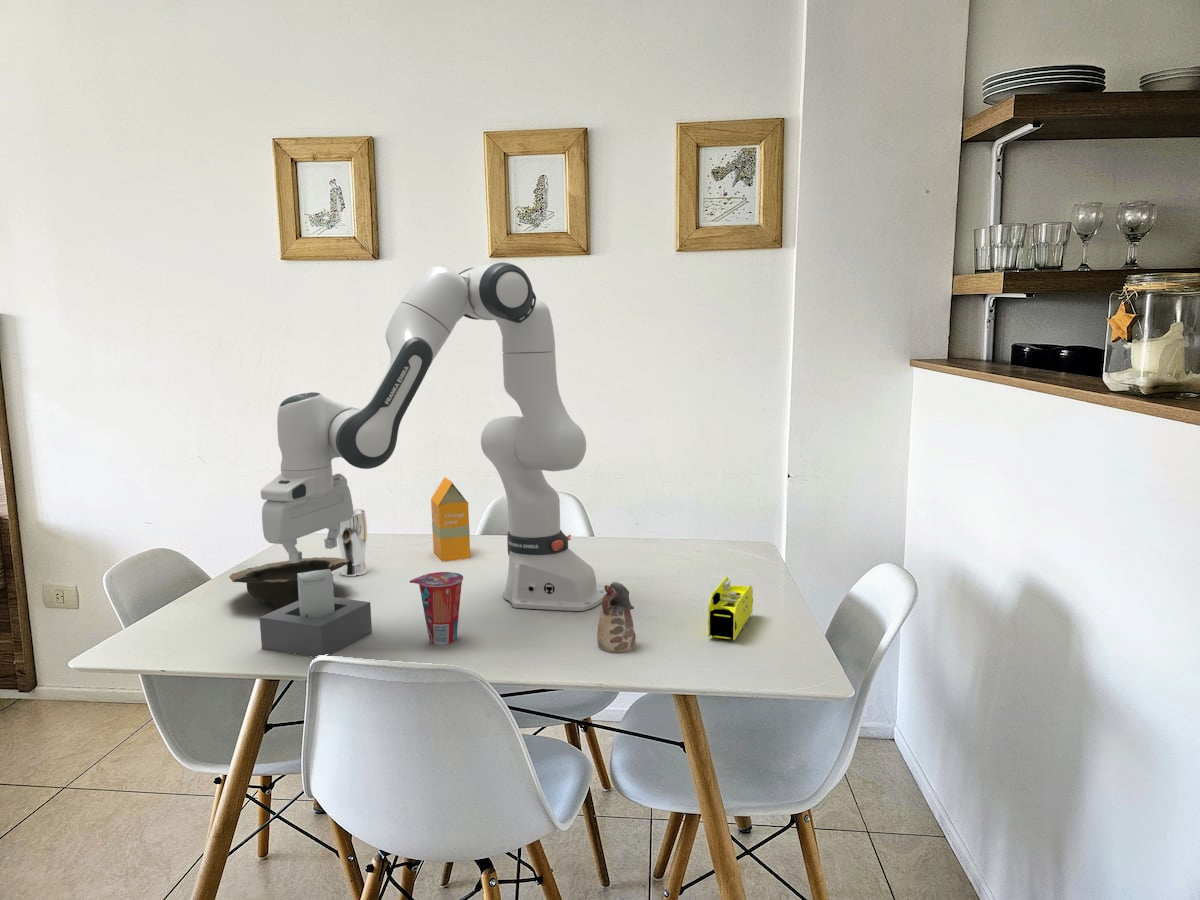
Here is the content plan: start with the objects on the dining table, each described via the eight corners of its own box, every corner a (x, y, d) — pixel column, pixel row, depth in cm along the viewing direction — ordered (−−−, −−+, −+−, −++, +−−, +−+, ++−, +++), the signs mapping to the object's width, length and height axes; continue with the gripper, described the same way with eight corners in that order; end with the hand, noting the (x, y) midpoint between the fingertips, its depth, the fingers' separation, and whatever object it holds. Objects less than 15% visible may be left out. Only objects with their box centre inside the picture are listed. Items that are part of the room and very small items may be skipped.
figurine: (644, 647, 151) (643, 583, 149) (611, 656, 147) (610, 591, 145) (621, 635, 157) (620, 574, 155) (590, 644, 153) (588, 581, 151)
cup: (450, 628, 162) (447, 568, 160) (474, 639, 156) (471, 578, 154) (407, 640, 156) (404, 578, 154) (430, 653, 150) (427, 589, 148)
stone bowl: (307, 621, 167) (300, 576, 165) (206, 619, 174) (199, 576, 173) (374, 582, 190) (369, 543, 189) (283, 582, 198) (277, 545, 196)
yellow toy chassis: (725, 613, 169) (726, 573, 168) (753, 616, 167) (754, 576, 166) (705, 640, 154) (705, 597, 153) (736, 644, 152) (736, 600, 151)
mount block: (371, 632, 161) (370, 602, 160) (322, 658, 148) (320, 626, 147) (314, 623, 166) (312, 594, 165) (261, 648, 153) (259, 617, 152)
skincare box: (303, 641, 154) (298, 578, 152) (300, 633, 158) (296, 572, 156) (337, 635, 156) (333, 574, 155) (333, 628, 160) (329, 568, 158)
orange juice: (462, 549, 219) (459, 475, 217) (470, 558, 211) (467, 481, 209) (432, 553, 216) (429, 478, 213) (440, 562, 208) (437, 483, 205)
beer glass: (364, 577, 196) (360, 515, 194) (335, 577, 197) (331, 515, 194) (373, 568, 203) (369, 508, 201) (344, 568, 204) (341, 509, 201)
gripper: (332, 470, 163) (337, 538, 165) (252, 492, 145) (260, 568, 147) (358, 472, 161) (363, 541, 163) (281, 494, 142) (288, 572, 144)
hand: (314, 554), depth 155 cm, fingers open, 8 cm apart
